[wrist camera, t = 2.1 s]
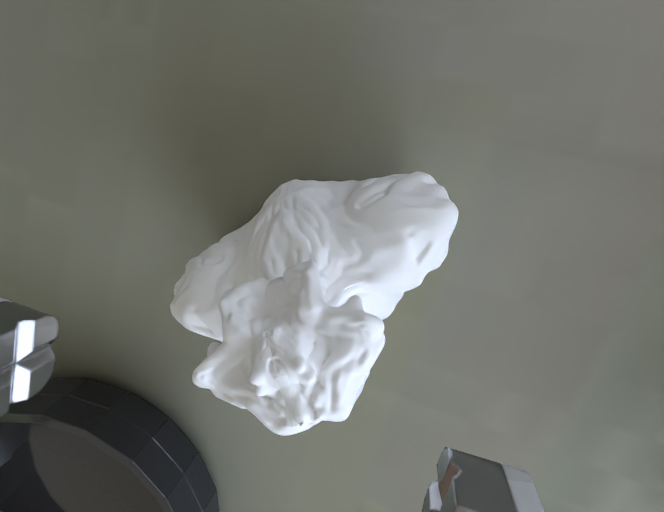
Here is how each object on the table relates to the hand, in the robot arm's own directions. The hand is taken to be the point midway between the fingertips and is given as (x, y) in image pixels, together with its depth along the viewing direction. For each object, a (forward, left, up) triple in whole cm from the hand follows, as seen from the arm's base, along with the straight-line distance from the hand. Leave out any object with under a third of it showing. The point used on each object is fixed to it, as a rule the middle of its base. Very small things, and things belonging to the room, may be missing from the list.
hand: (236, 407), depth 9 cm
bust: (0, 0, -13) cm, 13 cm away
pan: (-10, -18, -13) cm, 24 cm away
